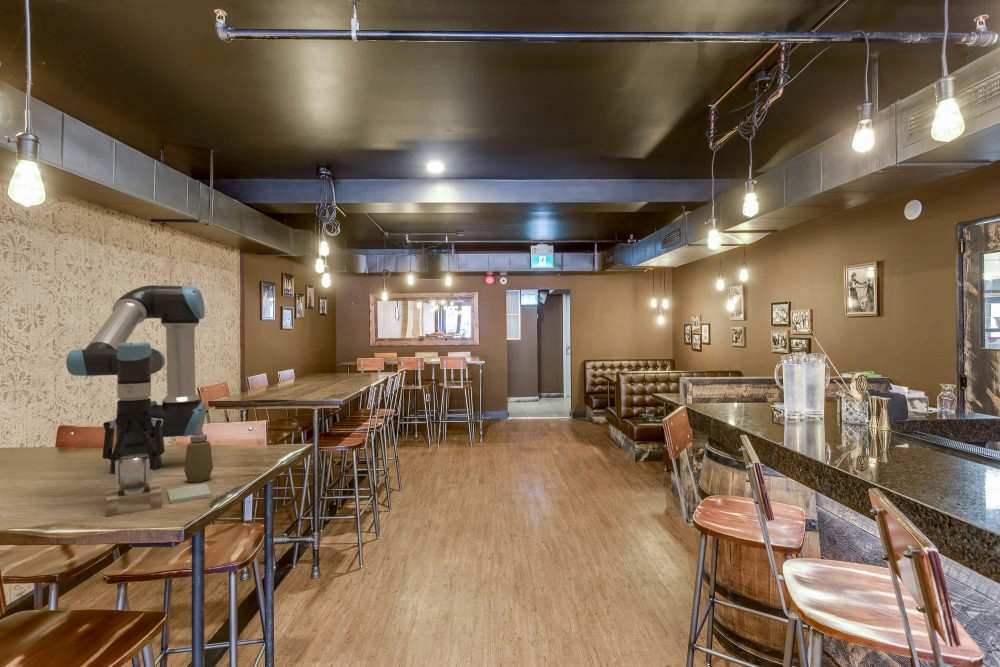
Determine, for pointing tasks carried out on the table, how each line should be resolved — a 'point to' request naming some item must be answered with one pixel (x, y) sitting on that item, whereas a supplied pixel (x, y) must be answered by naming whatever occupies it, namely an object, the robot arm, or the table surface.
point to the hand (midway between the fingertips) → (134, 482)
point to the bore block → (133, 500)
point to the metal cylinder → (132, 473)
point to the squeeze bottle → (198, 457)
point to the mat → (188, 493)
